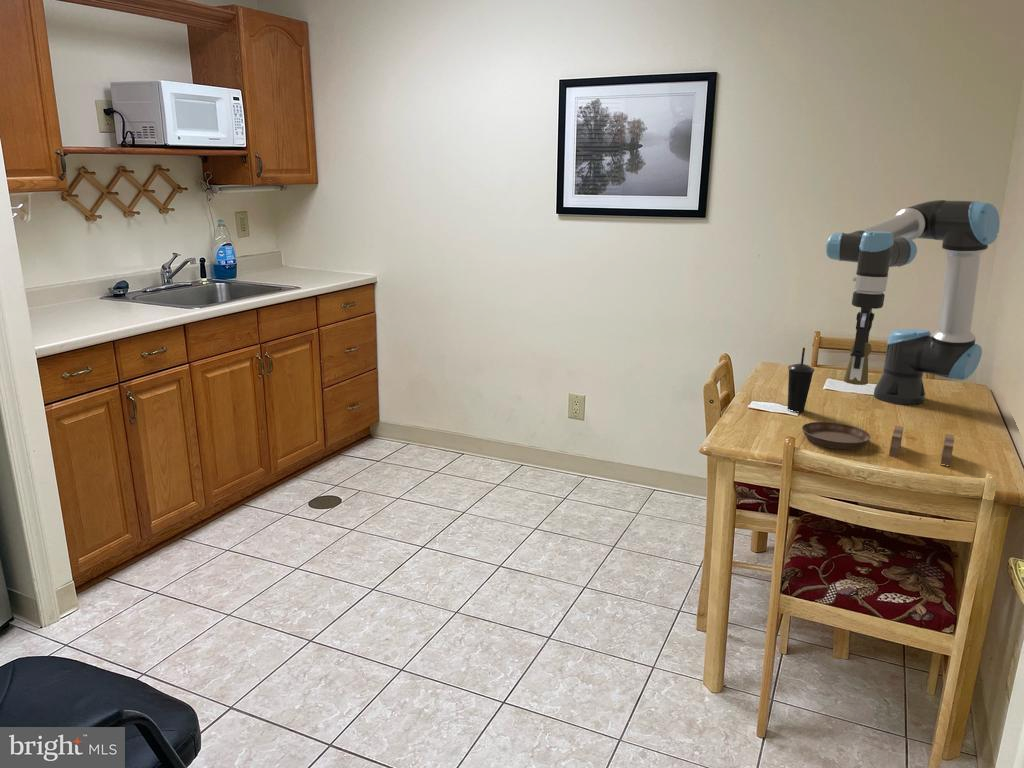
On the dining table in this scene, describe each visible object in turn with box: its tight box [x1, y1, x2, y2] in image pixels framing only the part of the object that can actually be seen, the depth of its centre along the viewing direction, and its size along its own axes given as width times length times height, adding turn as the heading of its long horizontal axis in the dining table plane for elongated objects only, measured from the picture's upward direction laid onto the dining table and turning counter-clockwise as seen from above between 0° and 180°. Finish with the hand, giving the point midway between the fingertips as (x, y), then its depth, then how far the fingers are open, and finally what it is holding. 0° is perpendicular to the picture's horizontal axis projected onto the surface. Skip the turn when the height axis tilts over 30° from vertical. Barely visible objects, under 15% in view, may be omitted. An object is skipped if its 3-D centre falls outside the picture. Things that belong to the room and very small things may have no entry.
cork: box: [843, 341, 872, 386], centre depth 200 cm, size 6×6×11 cm
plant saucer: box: [801, 421, 872, 450], centre depth 208 cm, size 18×18×3 cm
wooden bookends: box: [888, 425, 955, 465], centre depth 197 cm, size 10×14×6 cm
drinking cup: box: [787, 347, 815, 413], centre depth 231 cm, size 8×8×20 cm
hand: (856, 377), depth 201 cm, fingers closed on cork, 4 cm apart
